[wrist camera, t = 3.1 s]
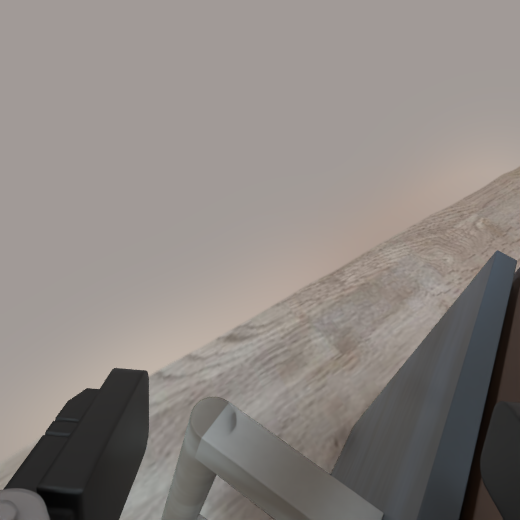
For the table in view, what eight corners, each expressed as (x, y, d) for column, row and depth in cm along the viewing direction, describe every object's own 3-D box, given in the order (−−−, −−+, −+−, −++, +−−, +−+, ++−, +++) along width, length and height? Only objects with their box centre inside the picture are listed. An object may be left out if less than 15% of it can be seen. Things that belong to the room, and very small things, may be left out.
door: (126, 580, 23) (151, 420, 12) (276, 371, 35) (367, 181, 23) (250, 691, 22) (433, 636, 10) (366, 432, 33) (517, 260, 21)
